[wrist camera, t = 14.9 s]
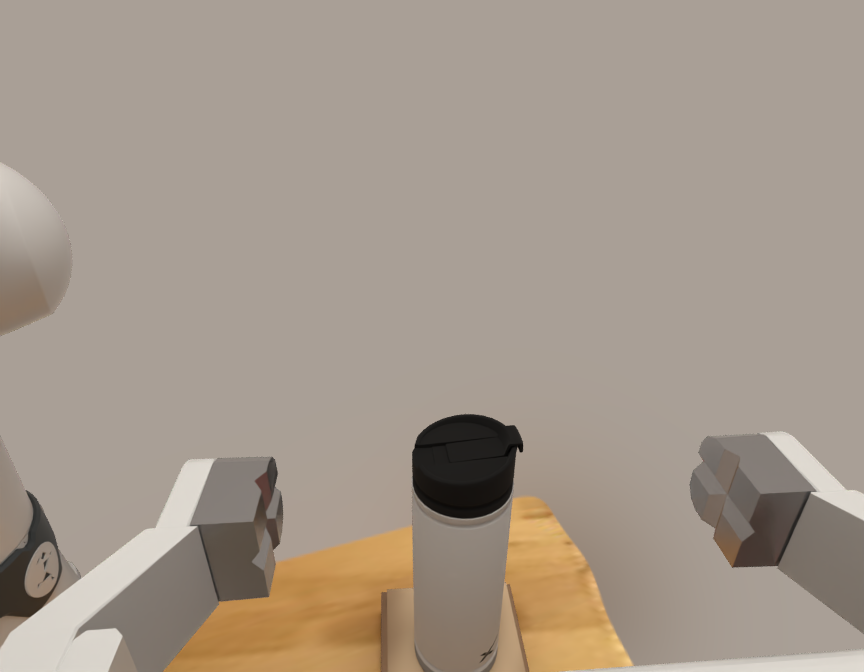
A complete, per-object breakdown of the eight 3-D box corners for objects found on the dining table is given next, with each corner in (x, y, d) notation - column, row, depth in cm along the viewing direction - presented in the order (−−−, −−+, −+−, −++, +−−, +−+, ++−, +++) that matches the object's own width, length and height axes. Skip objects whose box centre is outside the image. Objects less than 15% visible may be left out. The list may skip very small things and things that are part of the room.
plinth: (382, 757, 40) (380, 727, 38) (382, 615, 50) (380, 584, 48) (536, 744, 41) (542, 714, 39) (507, 606, 50) (510, 576, 48)
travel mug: (510, 681, 41) (537, 469, 31) (419, 693, 40) (416, 480, 30) (491, 603, 46) (508, 402, 36) (410, 613, 45) (405, 410, 36)
